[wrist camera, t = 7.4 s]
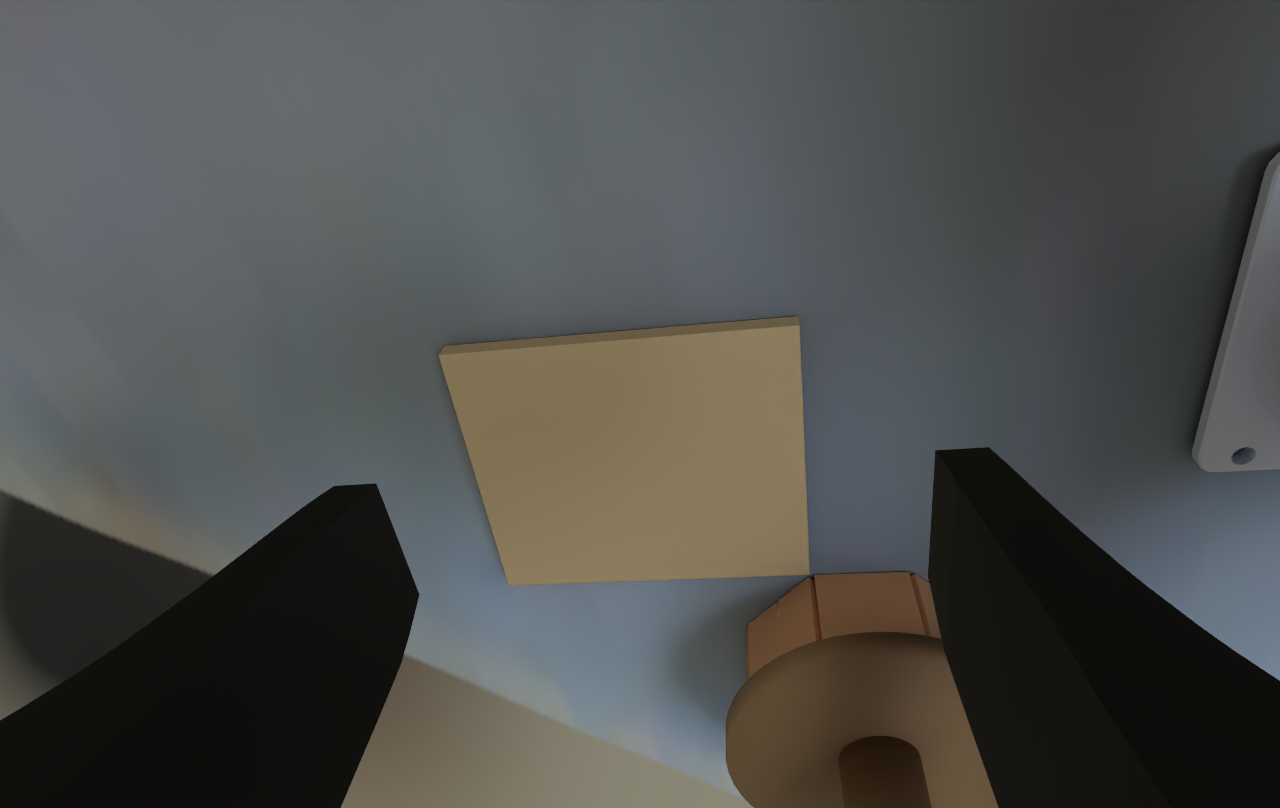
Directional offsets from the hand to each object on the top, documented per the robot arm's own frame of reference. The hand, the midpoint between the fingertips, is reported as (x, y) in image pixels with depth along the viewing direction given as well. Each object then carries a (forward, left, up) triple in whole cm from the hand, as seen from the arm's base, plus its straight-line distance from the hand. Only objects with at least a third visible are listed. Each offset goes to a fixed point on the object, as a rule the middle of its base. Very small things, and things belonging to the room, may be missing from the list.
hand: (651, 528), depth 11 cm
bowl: (-4, +14, -10) cm, 18 cm away
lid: (-4, +14, -7) cm, 16 cm away
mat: (+2, +6, -10) cm, 12 cm away
